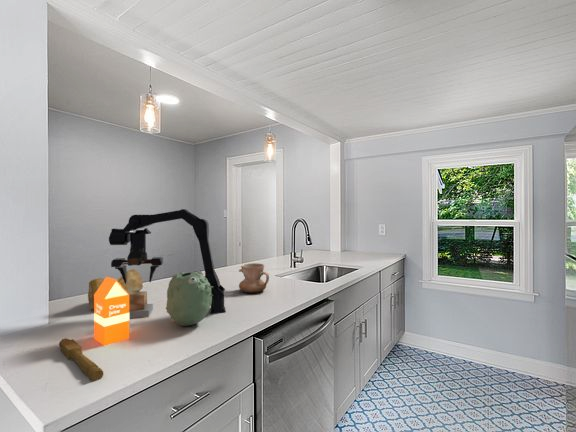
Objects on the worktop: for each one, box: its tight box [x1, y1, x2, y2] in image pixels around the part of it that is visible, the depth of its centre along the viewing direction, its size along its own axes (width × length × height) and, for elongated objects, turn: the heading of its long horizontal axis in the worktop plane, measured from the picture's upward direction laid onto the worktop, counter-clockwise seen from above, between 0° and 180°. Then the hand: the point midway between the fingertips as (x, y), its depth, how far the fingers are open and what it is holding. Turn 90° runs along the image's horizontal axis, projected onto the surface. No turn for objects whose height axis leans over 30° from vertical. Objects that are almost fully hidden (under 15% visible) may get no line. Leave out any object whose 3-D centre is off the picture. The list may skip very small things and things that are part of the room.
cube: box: [129, 290, 148, 311], centre depth 126 cm, size 6×6×6 cm
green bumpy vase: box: [165, 270, 213, 327], centre depth 114 cm, size 16×19×20 cm
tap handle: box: [58, 337, 104, 382], centre depth 86 cm, size 3×3×30 cm
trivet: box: [129, 303, 154, 319], centre depth 126 cm, size 10×10×2 cm
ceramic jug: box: [238, 262, 270, 294], centre depth 164 cm, size 18×14×14 cm
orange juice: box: [93, 276, 130, 347], centre depth 101 cm, size 8×9×20 cm
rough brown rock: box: [87, 269, 144, 310], centre depth 140 cm, size 23×17×15 cm
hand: (138, 282), depth 126 cm, fingers open, 9 cm apart
